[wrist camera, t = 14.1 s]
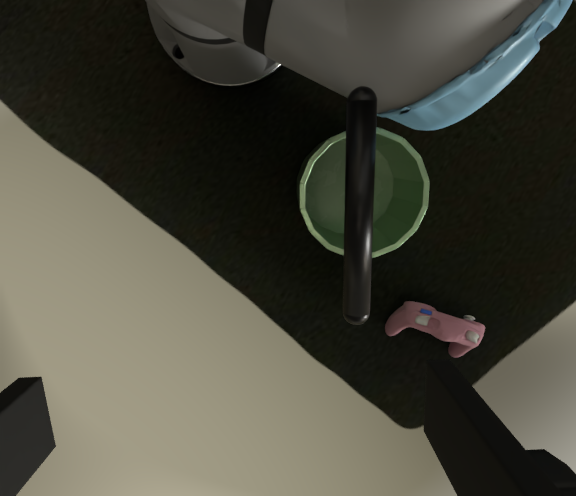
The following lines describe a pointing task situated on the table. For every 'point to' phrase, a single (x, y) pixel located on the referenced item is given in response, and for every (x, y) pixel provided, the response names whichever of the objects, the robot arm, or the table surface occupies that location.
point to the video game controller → (437, 326)
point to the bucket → (362, 196)
